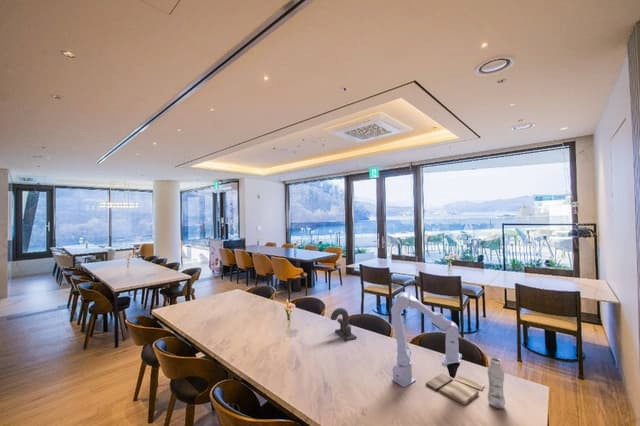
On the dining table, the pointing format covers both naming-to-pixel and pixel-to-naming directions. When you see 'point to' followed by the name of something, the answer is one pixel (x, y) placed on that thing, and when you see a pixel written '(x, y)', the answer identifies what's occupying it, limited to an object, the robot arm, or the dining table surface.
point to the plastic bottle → (496, 384)
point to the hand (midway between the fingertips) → (452, 376)
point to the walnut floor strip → (439, 382)
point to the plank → (470, 383)
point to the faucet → (343, 324)
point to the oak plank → (459, 392)
